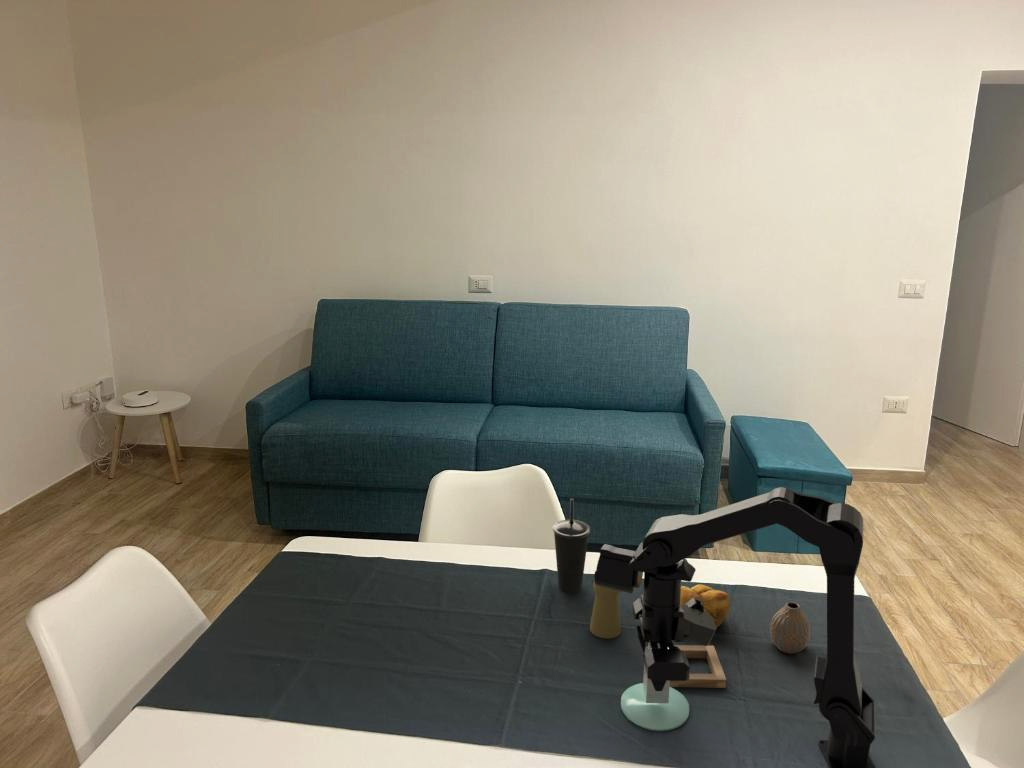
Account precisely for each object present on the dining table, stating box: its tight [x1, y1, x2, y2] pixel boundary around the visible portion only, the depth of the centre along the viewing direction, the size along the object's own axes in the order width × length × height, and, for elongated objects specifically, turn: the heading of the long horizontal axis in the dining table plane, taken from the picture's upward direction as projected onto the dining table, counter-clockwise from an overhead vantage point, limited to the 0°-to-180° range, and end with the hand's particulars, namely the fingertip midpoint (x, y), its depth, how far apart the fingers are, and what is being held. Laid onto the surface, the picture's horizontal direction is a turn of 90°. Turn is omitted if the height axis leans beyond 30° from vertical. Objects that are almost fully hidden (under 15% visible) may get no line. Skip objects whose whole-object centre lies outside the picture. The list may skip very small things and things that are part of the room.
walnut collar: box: [670, 644, 727, 689], centre depth 139 cm, size 10×10×2 cm
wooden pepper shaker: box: [589, 579, 622, 639], centre depth 150 cm, size 6×6×11 cm
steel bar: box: [642, 641, 670, 703], centre depth 128 cm, size 4×4×9 cm
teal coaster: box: [620, 682, 690, 732], centre depth 130 cm, size 11×11×1 cm
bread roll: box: [680, 583, 731, 628], centre depth 153 cm, size 13×10×8 cm
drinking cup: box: [552, 498, 591, 594], centre depth 163 cm, size 8×8×20 cm
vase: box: [769, 601, 811, 655], centre depth 145 cm, size 7×7×9 cm
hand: (656, 682), depth 129 cm, fingers closed on steel bar, 4 cm apart
